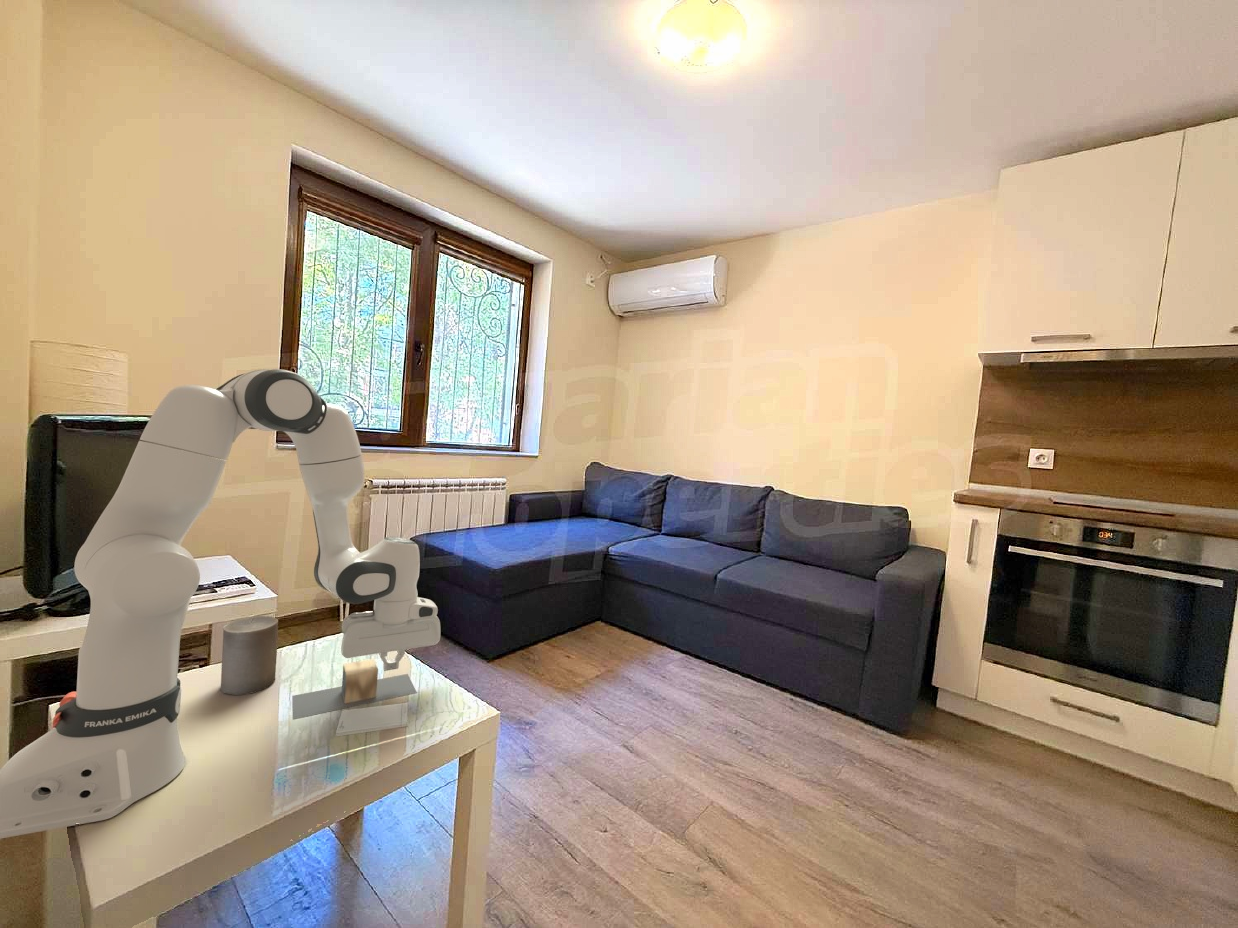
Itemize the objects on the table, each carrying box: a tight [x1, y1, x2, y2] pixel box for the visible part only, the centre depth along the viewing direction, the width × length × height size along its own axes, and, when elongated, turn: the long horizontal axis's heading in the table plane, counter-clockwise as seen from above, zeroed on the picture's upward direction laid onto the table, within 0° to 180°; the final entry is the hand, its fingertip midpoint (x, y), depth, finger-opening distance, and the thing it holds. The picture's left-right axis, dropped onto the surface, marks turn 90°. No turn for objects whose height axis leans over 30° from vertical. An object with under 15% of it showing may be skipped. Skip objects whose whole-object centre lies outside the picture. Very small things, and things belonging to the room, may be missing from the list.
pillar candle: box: [220, 615, 279, 696], centre depth 104 cm, size 10×10×15 cm
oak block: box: [341, 658, 379, 703], centre depth 104 cm, size 6×6×6 cm
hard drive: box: [334, 702, 409, 737], centre depth 95 cm, size 2×8×12 cm
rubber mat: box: [292, 673, 418, 721], centre depth 104 cm, size 23×10×1 cm, turn 125°
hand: (390, 668), depth 107 cm, fingers closed
